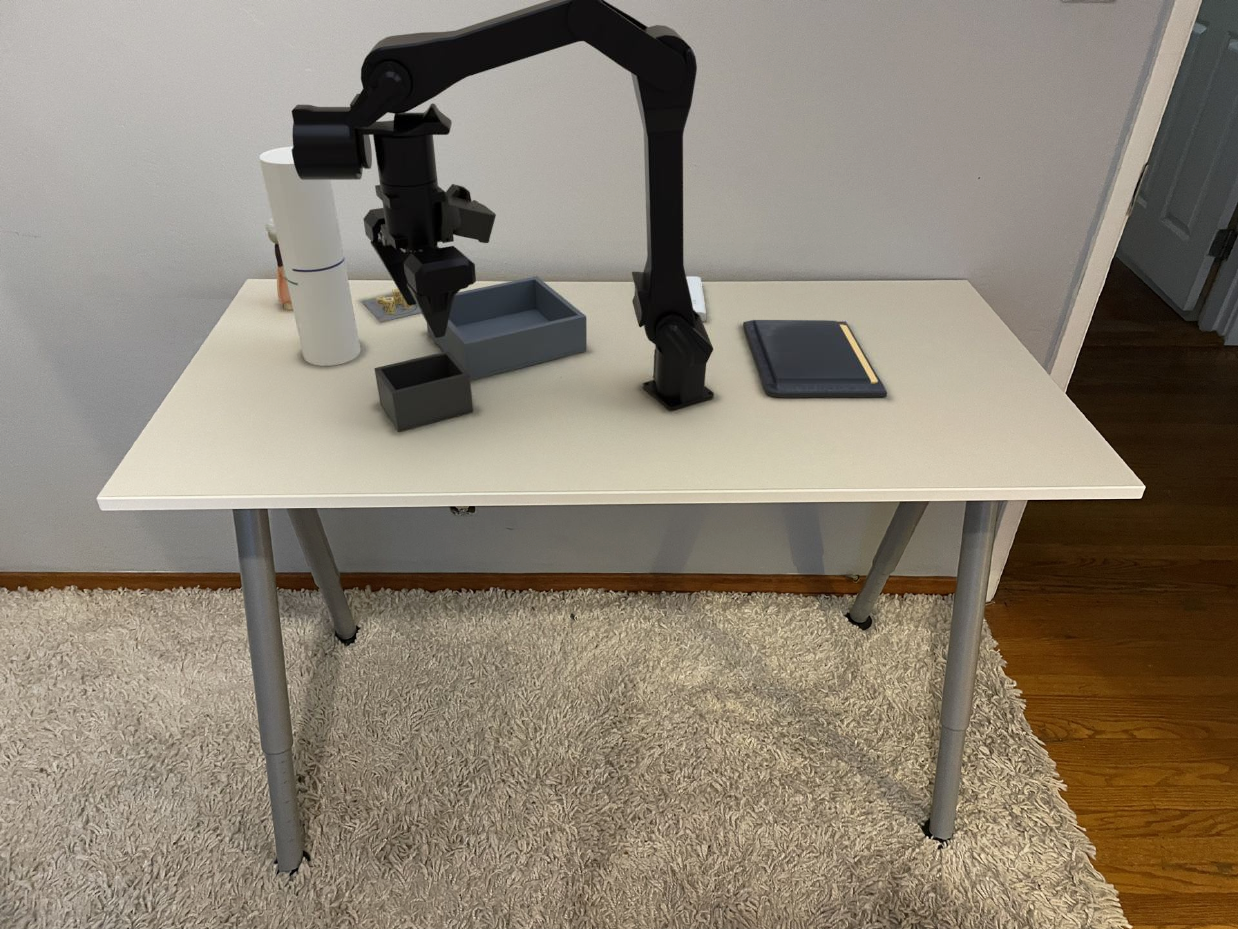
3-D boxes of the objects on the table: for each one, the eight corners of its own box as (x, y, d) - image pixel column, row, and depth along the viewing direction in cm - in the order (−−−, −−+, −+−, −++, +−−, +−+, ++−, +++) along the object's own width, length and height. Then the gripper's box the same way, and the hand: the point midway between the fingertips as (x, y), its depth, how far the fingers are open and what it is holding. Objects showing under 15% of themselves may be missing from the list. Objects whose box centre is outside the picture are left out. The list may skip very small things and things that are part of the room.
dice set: (407, 294, 124) (405, 282, 123) (420, 307, 121) (418, 294, 120) (374, 301, 122) (372, 289, 121) (386, 315, 118) (384, 302, 117)
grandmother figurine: (276, 296, 123) (256, 210, 115) (304, 292, 124) (286, 207, 117) (283, 318, 117) (263, 229, 110) (312, 313, 118) (293, 225, 111)
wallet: (743, 312, 117) (852, 313, 117) (742, 324, 118) (849, 326, 118) (764, 384, 101) (890, 386, 101) (762, 397, 102) (887, 399, 102)
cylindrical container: (345, 368, 106) (306, 166, 91) (292, 362, 107) (246, 161, 92) (370, 343, 111) (337, 148, 97) (320, 337, 113) (280, 144, 98)
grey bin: (586, 351, 111) (586, 316, 108) (468, 381, 104) (464, 344, 101) (538, 309, 121) (537, 275, 118) (427, 334, 114) (423, 299, 111)
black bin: (473, 412, 98) (469, 374, 95) (398, 432, 94) (392, 393, 91) (452, 386, 103) (448, 350, 100) (380, 405, 99) (374, 367, 96)
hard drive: (700, 286, 129) (705, 322, 119) (646, 285, 129) (647, 320, 119) (700, 276, 128) (706, 311, 118) (647, 275, 128) (647, 309, 118)
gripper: (520, 194, 81) (526, 339, 90) (451, 146, 94) (463, 277, 104) (408, 210, 77) (426, 361, 86) (352, 158, 90) (373, 294, 99)
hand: (425, 320), depth 94 cm, fingers open, 9 cm apart
